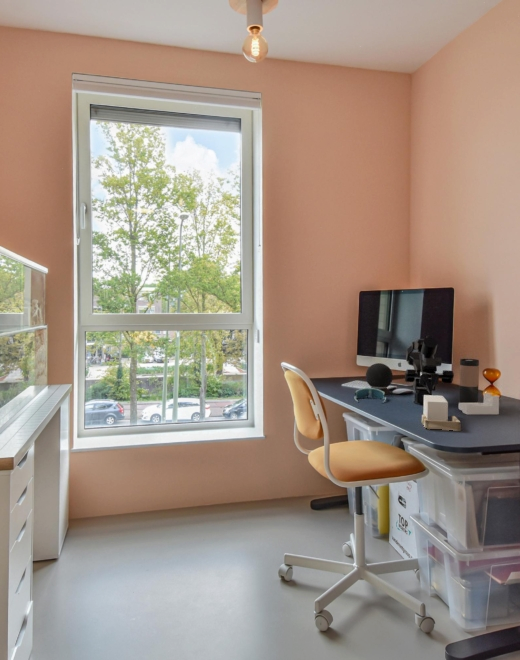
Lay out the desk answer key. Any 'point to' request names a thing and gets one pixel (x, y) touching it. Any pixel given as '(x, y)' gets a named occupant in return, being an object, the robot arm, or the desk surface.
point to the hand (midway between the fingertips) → (430, 392)
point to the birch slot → (442, 424)
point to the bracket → (482, 406)
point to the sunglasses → (374, 392)
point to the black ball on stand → (379, 377)
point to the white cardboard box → (435, 408)
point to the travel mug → (469, 380)
